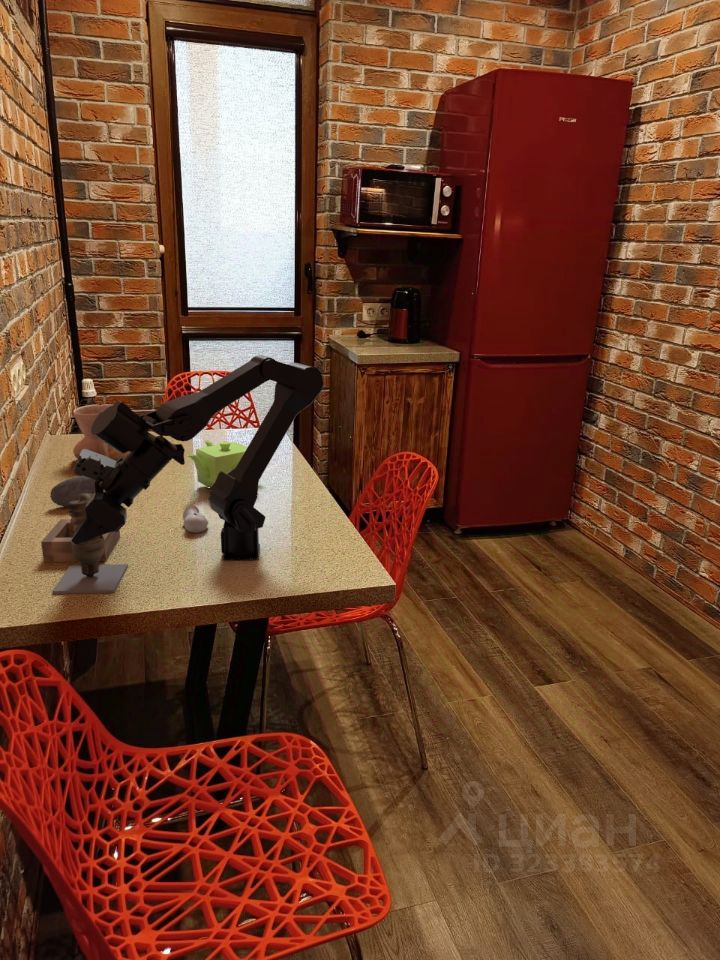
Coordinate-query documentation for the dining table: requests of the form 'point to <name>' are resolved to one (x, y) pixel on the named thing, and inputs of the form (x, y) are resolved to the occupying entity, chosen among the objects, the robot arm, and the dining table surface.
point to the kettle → (216, 460)
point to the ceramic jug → (91, 442)
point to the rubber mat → (91, 580)
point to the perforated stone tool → (72, 490)
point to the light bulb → (92, 548)
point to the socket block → (60, 545)
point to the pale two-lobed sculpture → (194, 519)
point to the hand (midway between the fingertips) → (77, 531)
